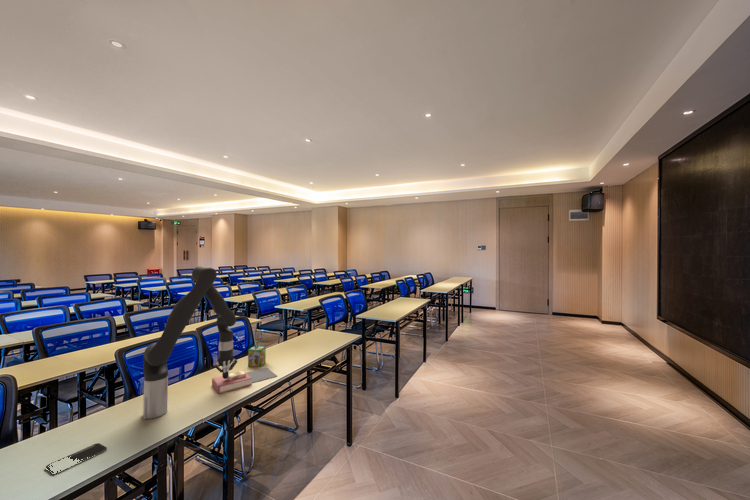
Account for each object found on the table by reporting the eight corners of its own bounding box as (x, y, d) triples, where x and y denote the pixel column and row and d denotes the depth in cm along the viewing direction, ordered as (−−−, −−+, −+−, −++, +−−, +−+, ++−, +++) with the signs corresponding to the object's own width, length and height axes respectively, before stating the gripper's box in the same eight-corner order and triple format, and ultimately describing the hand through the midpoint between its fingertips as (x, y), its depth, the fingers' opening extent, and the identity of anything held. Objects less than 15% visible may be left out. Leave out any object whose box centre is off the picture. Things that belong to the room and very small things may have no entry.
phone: (44, 466, 105) (98, 442, 118) (44, 469, 105) (98, 445, 118) (53, 473, 102) (108, 448, 115) (53, 477, 102) (108, 451, 115)
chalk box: (260, 367, 202) (261, 345, 202) (247, 366, 202) (247, 345, 202) (266, 362, 211) (266, 341, 211) (253, 362, 211) (253, 341, 212)
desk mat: (251, 383, 176) (251, 382, 176) (241, 374, 189) (241, 373, 189) (277, 376, 186) (277, 375, 187) (266, 368, 200) (266, 367, 200)
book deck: (218, 393, 162) (218, 386, 162) (211, 385, 173) (212, 378, 173) (251, 384, 174) (251, 377, 174) (244, 377, 185) (244, 370, 185)
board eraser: (229, 380, 170) (229, 377, 170) (226, 377, 174) (226, 374, 174) (245, 376, 176) (245, 373, 176) (242, 373, 180) (242, 370, 180)
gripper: (215, 352, 164) (214, 383, 164) (239, 347, 173) (239, 377, 173) (211, 349, 170) (211, 379, 170) (236, 344, 179) (235, 373, 178)
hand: (225, 378), depth 171 cm, fingers closed
